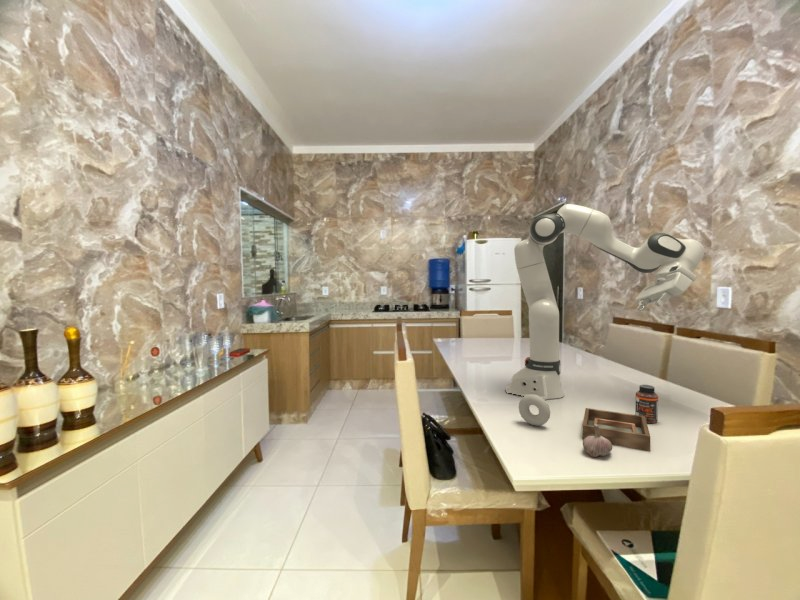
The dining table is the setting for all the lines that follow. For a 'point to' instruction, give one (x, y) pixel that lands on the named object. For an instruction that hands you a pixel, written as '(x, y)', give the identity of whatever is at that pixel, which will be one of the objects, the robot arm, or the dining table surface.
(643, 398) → the supplement bottle
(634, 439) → the walled box
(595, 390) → the dining table surface
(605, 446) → the garlic bulb
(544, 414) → the donut
